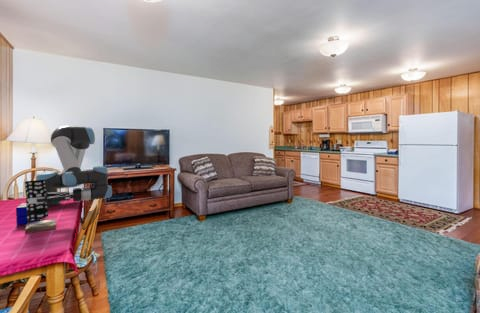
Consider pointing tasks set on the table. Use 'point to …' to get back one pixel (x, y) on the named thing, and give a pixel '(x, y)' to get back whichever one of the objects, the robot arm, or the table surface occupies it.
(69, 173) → the robot arm
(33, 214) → the white-spotted black cylinder
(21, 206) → the puzzle cube
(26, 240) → the table surface
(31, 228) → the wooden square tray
